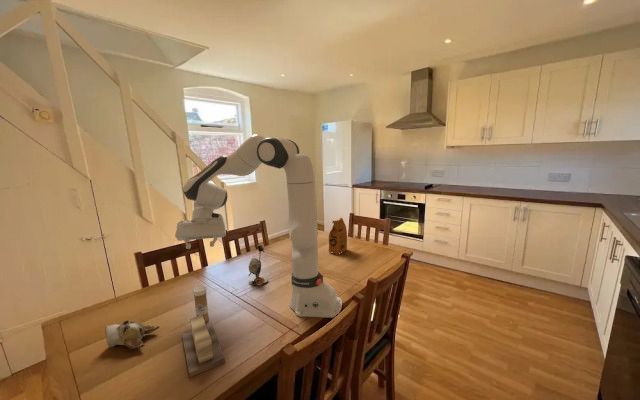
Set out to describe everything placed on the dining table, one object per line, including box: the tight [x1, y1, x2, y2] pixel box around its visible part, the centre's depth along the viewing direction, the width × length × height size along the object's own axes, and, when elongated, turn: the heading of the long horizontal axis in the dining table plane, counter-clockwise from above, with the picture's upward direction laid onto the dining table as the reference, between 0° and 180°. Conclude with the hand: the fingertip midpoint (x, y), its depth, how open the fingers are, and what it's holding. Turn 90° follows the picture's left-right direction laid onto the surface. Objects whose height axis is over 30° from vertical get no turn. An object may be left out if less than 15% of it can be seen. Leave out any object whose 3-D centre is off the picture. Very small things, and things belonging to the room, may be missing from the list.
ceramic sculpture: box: [104, 320, 160, 350], centre depth 88 cm, size 11×9×15 cm
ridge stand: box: [181, 315, 226, 378], centre depth 84 cm, size 20×10×8 cm, turn 34°
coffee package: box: [328, 217, 348, 255], centre depth 168 cm, size 10×12×22 cm
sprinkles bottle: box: [192, 285, 210, 323], centre depth 99 cm, size 5×5×14 cm
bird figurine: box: [248, 244, 269, 286], centre depth 128 cm, size 8×11×20 cm
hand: (200, 247), depth 108 cm, fingers open, 8 cm apart
